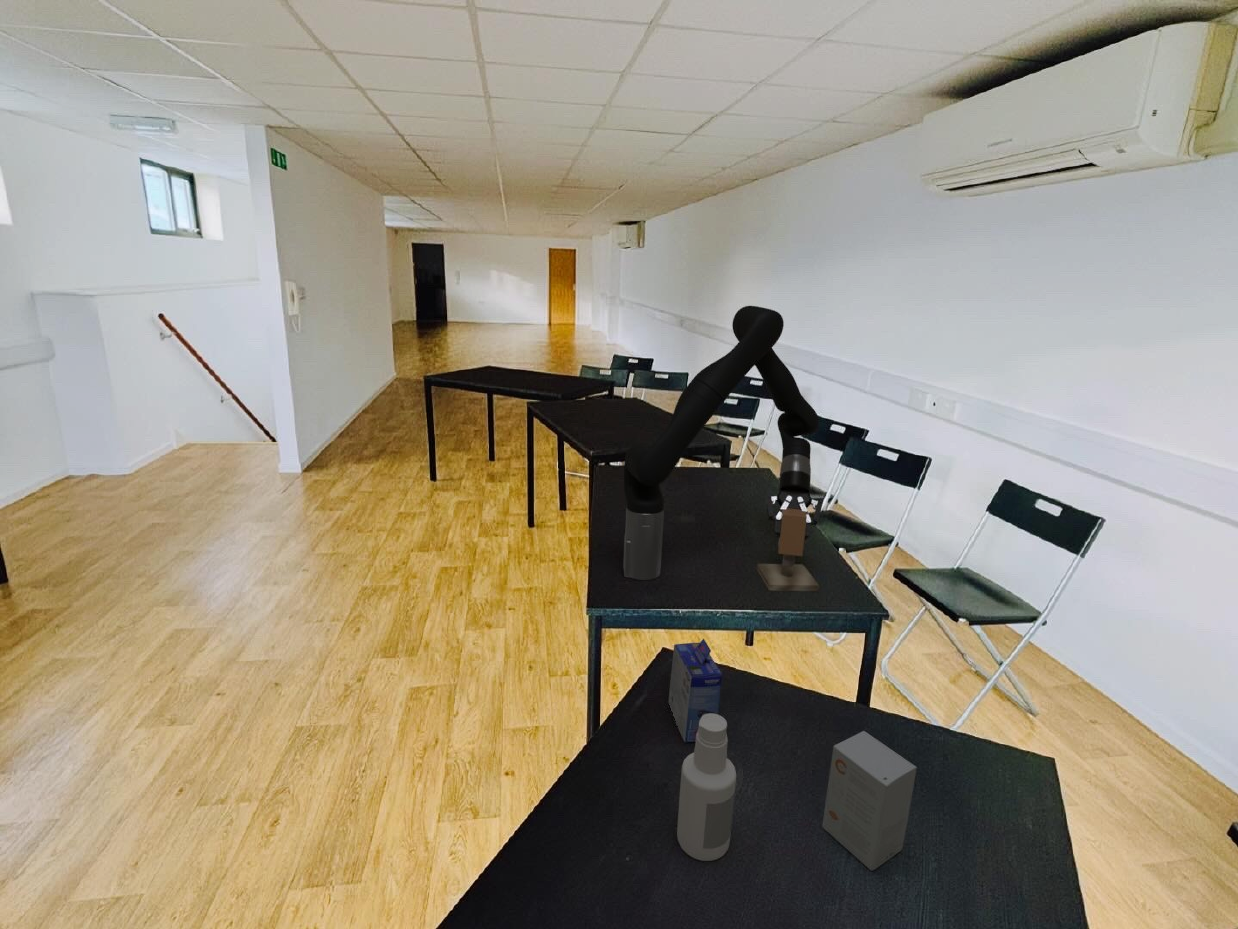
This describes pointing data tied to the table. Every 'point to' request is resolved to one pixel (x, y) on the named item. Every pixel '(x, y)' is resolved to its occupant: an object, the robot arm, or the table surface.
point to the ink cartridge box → (693, 687)
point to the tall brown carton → (792, 532)
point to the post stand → (787, 576)
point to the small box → (868, 799)
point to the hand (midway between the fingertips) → (792, 537)
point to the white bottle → (707, 793)
